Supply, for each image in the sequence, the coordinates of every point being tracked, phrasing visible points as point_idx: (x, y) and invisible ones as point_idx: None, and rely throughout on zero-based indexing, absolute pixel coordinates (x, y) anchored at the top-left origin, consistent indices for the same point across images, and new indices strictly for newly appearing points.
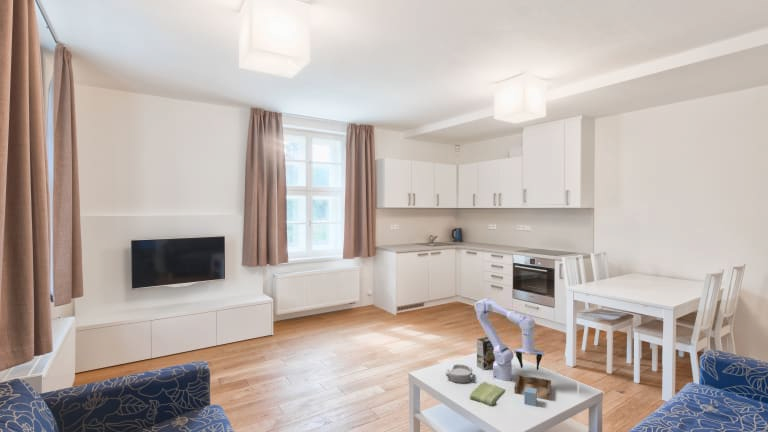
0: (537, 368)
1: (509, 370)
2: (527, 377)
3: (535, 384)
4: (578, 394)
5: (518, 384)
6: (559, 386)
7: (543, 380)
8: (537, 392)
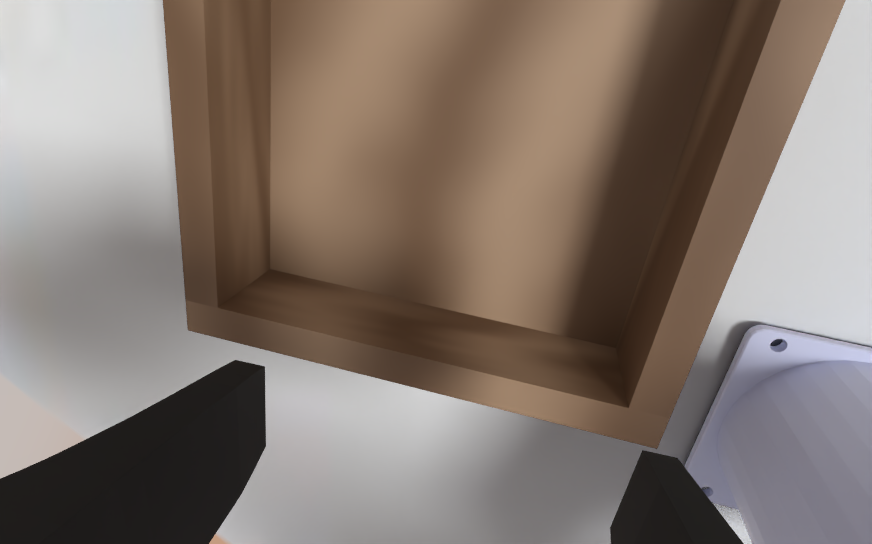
0: (225, 379)
1: (849, 507)
2: (508, 375)
3: (413, 306)
4: (10, 217)
5: (695, 175)
6: (184, 349)
7: (282, 319)
8: (400, 95)
